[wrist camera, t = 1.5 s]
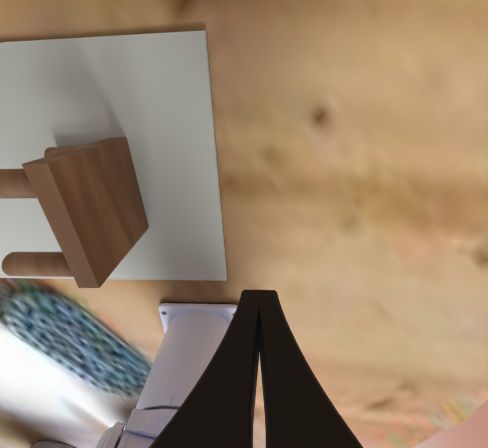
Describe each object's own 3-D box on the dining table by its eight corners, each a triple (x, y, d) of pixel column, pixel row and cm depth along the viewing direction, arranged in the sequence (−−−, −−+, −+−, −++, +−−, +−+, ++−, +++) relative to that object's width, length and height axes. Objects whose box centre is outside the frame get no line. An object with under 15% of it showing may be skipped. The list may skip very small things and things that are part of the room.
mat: (227, 278, 22) (227, 280, 22) (-16, 275, 24) (-19, 277, 24) (206, 31, 14) (204, 30, 14) (-168, 53, 15) (-175, 52, 15)
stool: (126, 137, 17) (47, 163, 10) (149, 227, 20) (99, 287, 14) (54, 139, 17) (-64, 165, 11) (88, 227, 20) (12, 286, 14)
